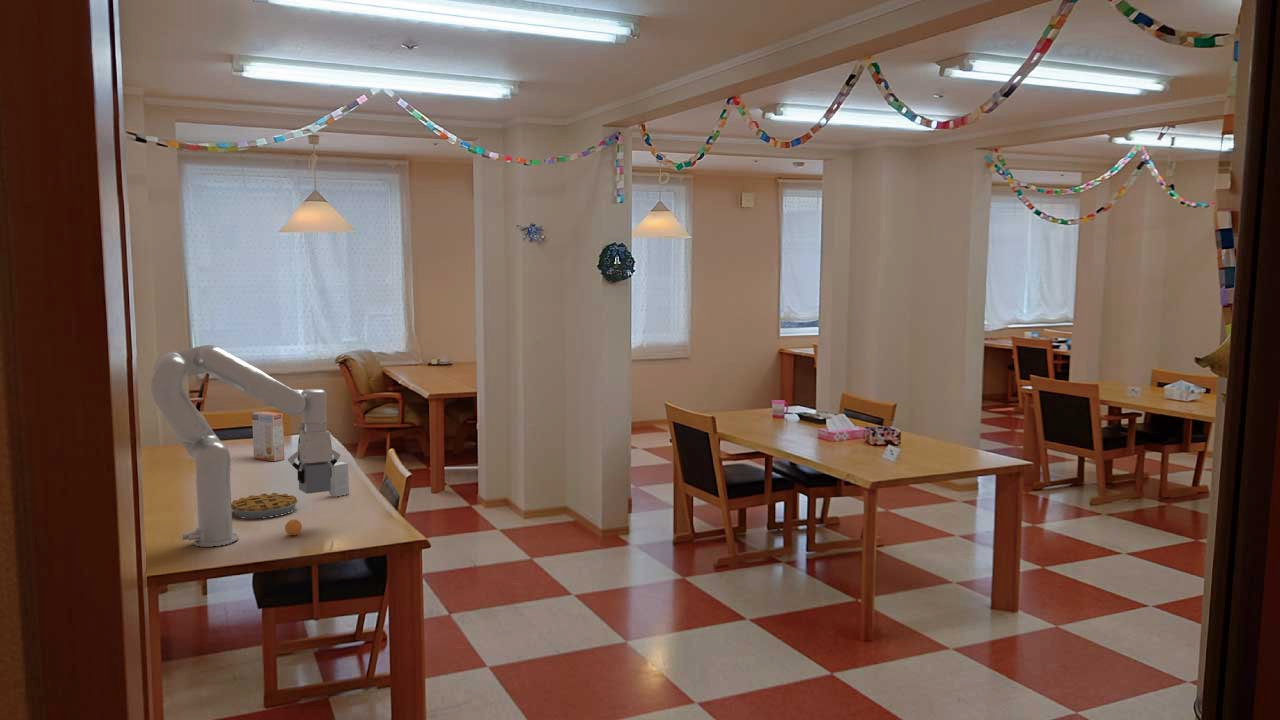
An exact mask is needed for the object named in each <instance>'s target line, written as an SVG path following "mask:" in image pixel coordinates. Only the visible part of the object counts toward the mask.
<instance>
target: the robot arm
mask: <svg viewBox="0 0 1280 720" xmlns="http://www.w3.org/2000/svg"><path fill="white" fill-rule="evenodd" d="M153 369H154V373H153V376H152V378H151V383H150V393H151V396H152V398H153V401H154V402H155V405H156V406H157V408H158V409H159V411H160V412H161V413H162V415H163V417H164V418H165V419H166V421H167V423H169V425H170V429H171V431H172V433H173V434H174V435H175V437H176V438H177V439H178V441H179V442H180V443H181V445H182V446H183V447H184V449H185V450H186V452H187V453H188V454H189V456H190V457H191V458H192V460H193V461H194V462H195V468H196V469H195V471H196V472H195V483H196V484H195V487H196V501H197V502H196V505H197V521H198V522H197V524H198V527H195V530H193V531H192V532H186V533H185V532H184V533H181V539H182V541H186V540H188V541H193V545H194V546H196V547H199V546H200V547H201V548H214V547H213V546H216V547H222V546H221V545H223V546H226V544H227V545H230V544H229V543H231V544H233V543H232V542H234V541H236V540H237V539H238V540H239V534H237V533H235V532H234V530H233V529H234V527H233V510H232V507H231V503H232V491H231V465H232V464H231V463H232V462H231V453H230V450H229V448H228V447H227V445H226V444H225V443H224V442H222V440H221V439H220V438H219V437H218V436H217V435H216V433H215V431H214V430H213V428H212V427H211V426H210V425H209V423H208V420H207V419H206V418H205V415H203V414H202V413H201V412H200V411H199V410H198V409H197V407H196V406H195V405H194V403H193V402H192V401H191V399H190V396H188V394H187V393H186V391H185V389H184V381H185V379H186V377H187V378H188V377H191V376H196V375H201V374H205V373H206V374H208V375H209V376H211V377H213V378H215V379H217V380H219V381H221V382H223V383H225V384H227V385H228V386H231V387H233V388H234V389H236V390H238V391H240V392H242V393H243V394H246V395H248V396H250V397H253V398H255V399H257V400H259V401H261V402H264V403H266V404H267V405H270V406H271V407H273V408H275V409H277V410H278V411H281V413H282V412H283V413H284V414H286V415H288V416H298V415H300V414H301V422H300V423H301V424H297V427H296V428H297V430H301V431H299V435H298V441H297V450H296V452H294V453H293V454H292V455H290V456H289V457H288V458H287V460H288V462H289V463H290V465H291V466H292V467H293V468H294V469H296V470H297V481H298V483H299V482H300V483H302V484H303V483H304V471H303V468H304V465H306V464H313V463H323V462H326V463H329V464H331V468H333V466H334V464H335V463H338V460H339V459H340V458H341V453H339V452H337V451H335V450H334V449H333V447H332V439H331V433H330V431H329V430H327V429H328V428H327V425H328V424H327V423H328V422H327V420H328V419H327V416H328V415H327V392H326V391H325V390H324V389H322V388H308V389H293V388H291V387H290V386H287V385H285V384H283V383H282V382H280V381H279V380H277V379H274V378H273V377H272V376H270V375H269V374H267V373H266V372H264V371H262V370H261V369H260V368H258V367H256V366H254V365H253V364H251V363H250V362H249V363H248V362H247V361H245V360H244V359H241V358H239V357H238V356H236V355H234V354H232V353H231V352H229V351H227V350H225V349H223V348H221V347H219V346H217V345H214V344H207V345H199V346H196V347H190V348H185V349H179V350H174V351H169V352H165V353H163V354H160V355H159V356H158V357H156V360H155V362H154V366H153ZM296 459H297V461H298V464H297V462H296ZM331 476H332V469H331ZM238 540H237V541H238ZM237 541H236V542H237ZM234 543H235V542H234Z"/></svg>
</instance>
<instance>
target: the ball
mask: <svg viewBox="0 0 1280 720" xmlns="http://www.w3.org/2000/svg"><path fill="white" fill-rule="evenodd" d="M302 528H303V526H302V523H301V522H300V520H297V519H291V520H290V519H289V520H288V521H287V522H286V523H285V525H284V529H285V532H286V534H287V535H289V536H292V535H294V536H297V535H299V534H300V533H301V531H302ZM296 534H297V535H296Z"/></svg>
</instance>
